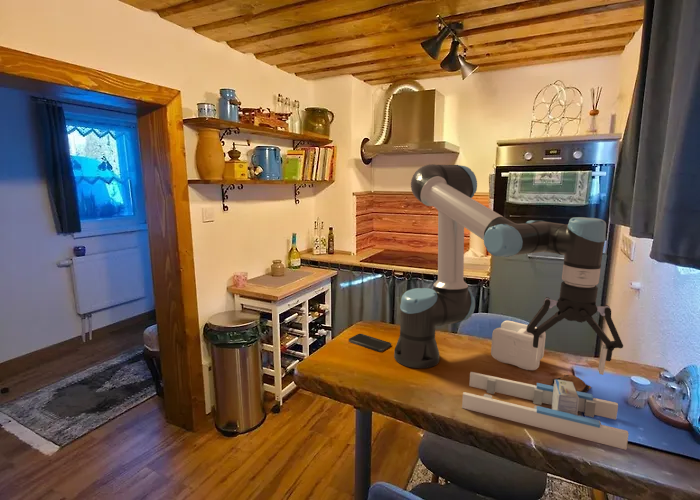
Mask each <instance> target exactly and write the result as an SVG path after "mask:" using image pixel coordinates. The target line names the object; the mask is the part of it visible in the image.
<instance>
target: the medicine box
mask: <svg viewBox="0 0 700 500" xmlns="http://www.w3.org/2000/svg"><path fill="white" fill-rule="evenodd" d="M554 379H555V380H554V388H553V398H552V405H551V409H553V410H557V411H561V412H566V413H570V414H574V415H578V412H579V411H578V402H579V397H578V394H577V392H576V389H575V387H574V384H573V382H570V381H564V380H556V379H557V378H554Z"/></svg>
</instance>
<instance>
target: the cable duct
mask: <svg viewBox="0 0 700 500" xmlns="http://www.w3.org/2000/svg"><path fill="white" fill-rule="evenodd" d="M468 385H469V387H473V388H477V389H481V390H485V391H486V393H484V394H483V395H477V394H476V393H471V392H465V391H463V392H462V404H461V408H462V409H465V410H469V411H472V412H477V413H481V414H485V415H488V416H493V417H496V418H499V419H503V420H508V421H510V422H511V421H513V422H515V423H519V424H523V425H524V424H525V425H527V426H530V427H531V426H532V427H536V428H540V429H543V430H546V431H551V432H555V433H559V434H563V435H567V436H571V437H575V438H577V439H582V440H587V441H590V442H594V443H598V444H603V445H604V446H605V445H606V446H610V447H613V448H617V449H621V450H626V451H627V447H628V442H629V431H628V430H626V429H621V428H617V427H612V426H609V425H605V424H602V422H601V421H600V420H598V419H594V417H595V416H597V417H603V418H607V419H611V420H615V421H617V417H618V409H619V404H618V402H615V401H610V400H605V399H601V398H596V397H594V396H593V394H592V393H588V392H586V393H585V392H579V391H576V392H577V394H578V397H579V402H578V412H581V413H583V414H584V416H582V415H578V414H577V415H574V414H570V413H566V412H561V411H557V410H553V409H552V408H548V407H544V406H542V404H547V405H551V406H552V398H553V388H554V386H550V385H551V384H545V383H542V382H541V383H540V382H536V385H535V384H531V383H526V382H522V381H515V380H511V379H507V378H504V377H503V378H501V377H498V376H492V375H489V374H484V373H483V374H482V373H479V372H475V371H470V373H469V384H468ZM495 393H498V394H503V395H507V396H510V397H511V396H512V397H516V398H520V399H525V400H529V401H532V404H534V406H533V407H529V406H525V405H520V404H516V403H511V402H508V401H503V400H498V399H494V398H493V395H495Z"/></svg>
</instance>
